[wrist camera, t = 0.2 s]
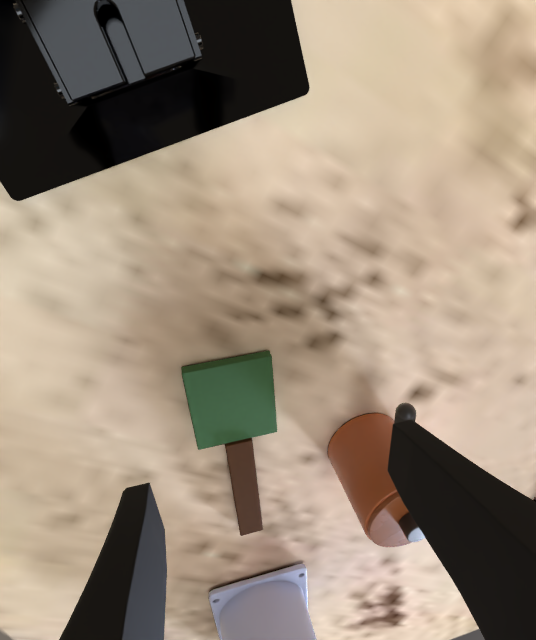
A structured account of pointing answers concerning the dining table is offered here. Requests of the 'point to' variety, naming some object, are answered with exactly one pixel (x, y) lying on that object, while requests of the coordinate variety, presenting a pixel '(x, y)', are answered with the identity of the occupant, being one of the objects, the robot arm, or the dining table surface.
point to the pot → (373, 477)
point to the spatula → (234, 420)
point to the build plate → (132, 79)
